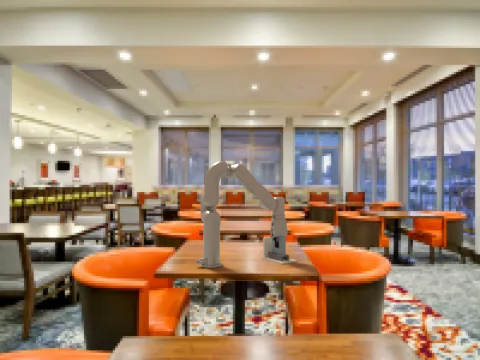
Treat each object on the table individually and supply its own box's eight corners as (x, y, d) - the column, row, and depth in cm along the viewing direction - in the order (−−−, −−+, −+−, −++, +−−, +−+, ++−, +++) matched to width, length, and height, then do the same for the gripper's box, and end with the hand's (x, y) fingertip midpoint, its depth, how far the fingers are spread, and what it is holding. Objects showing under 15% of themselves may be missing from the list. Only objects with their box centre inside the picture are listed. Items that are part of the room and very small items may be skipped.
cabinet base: (281, 264, 181) (281, 242, 181) (263, 258, 196) (263, 237, 196) (297, 261, 187) (297, 240, 187) (278, 255, 202) (278, 235, 202)
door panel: (280, 257, 185) (280, 236, 185) (270, 253, 194) (270, 234, 194) (285, 256, 187) (285, 236, 187) (275, 253, 196) (275, 233, 196)
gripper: (271, 218, 184) (272, 250, 184) (292, 217, 192) (292, 247, 192) (264, 217, 190) (264, 247, 190) (284, 216, 199) (285, 245, 198)
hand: (278, 247), depth 191 cm, fingers closed on door panel, 2 cm apart
